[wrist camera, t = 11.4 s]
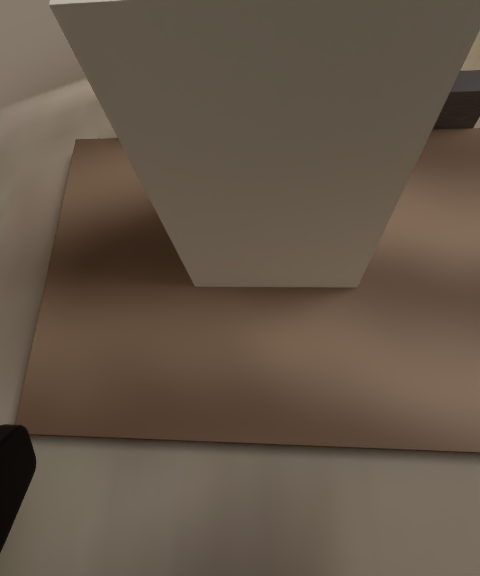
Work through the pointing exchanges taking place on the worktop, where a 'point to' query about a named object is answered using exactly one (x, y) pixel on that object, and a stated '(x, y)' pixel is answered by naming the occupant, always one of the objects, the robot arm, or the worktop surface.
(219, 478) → the worktop surface
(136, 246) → the shelf board
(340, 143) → the carton
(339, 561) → the worktop surface
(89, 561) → the worktop surface
